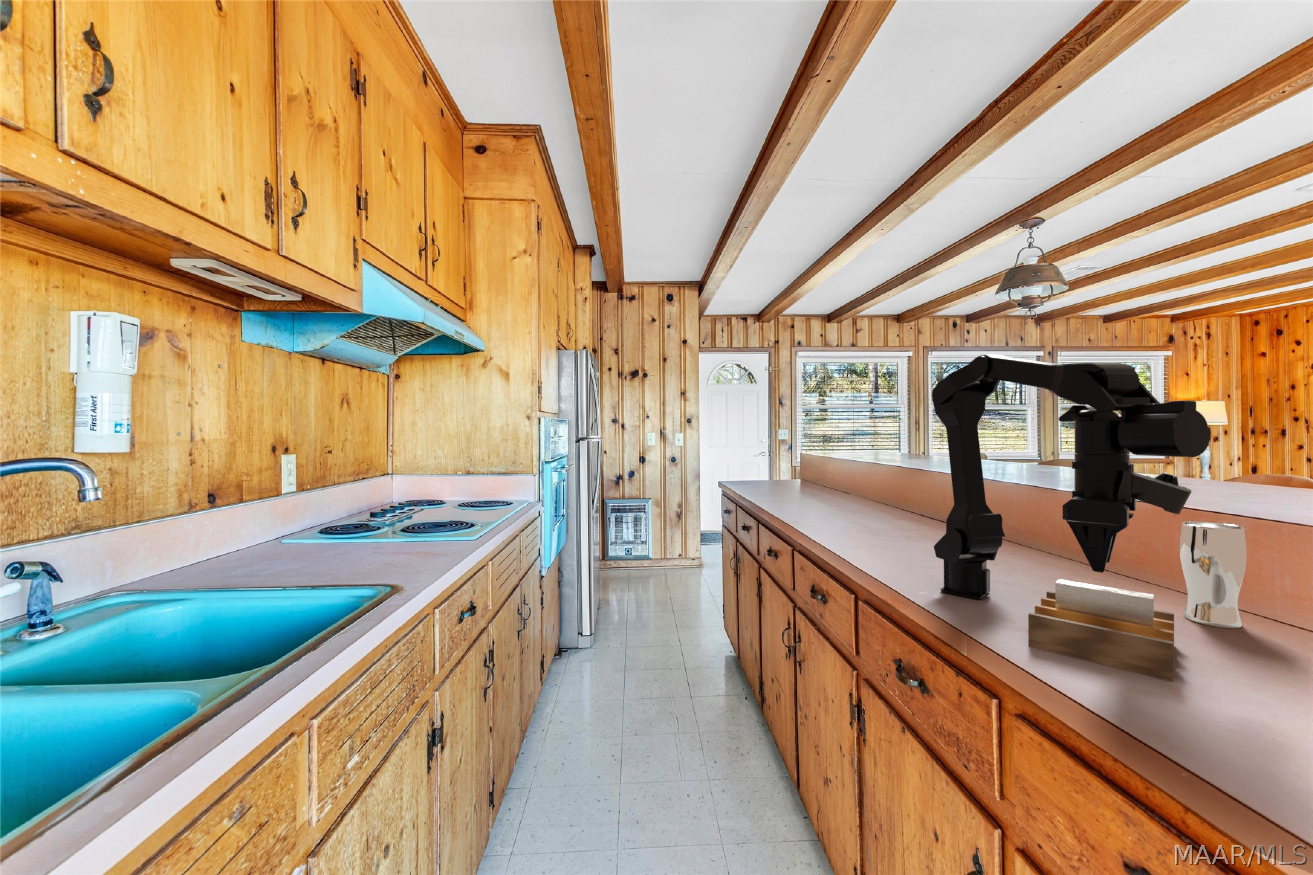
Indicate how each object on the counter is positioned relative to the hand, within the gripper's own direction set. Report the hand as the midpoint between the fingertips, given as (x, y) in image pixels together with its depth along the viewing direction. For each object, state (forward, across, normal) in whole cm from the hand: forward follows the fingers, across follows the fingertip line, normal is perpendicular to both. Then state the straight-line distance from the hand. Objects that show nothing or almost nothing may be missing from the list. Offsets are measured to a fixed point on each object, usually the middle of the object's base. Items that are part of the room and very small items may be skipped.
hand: (1101, 566), depth 70 cm
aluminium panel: (+10, 0, 0) cm, 10 cm away
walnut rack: (+11, 0, 0) cm, 11 cm away
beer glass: (+11, +24, -11) cm, 28 cm away
